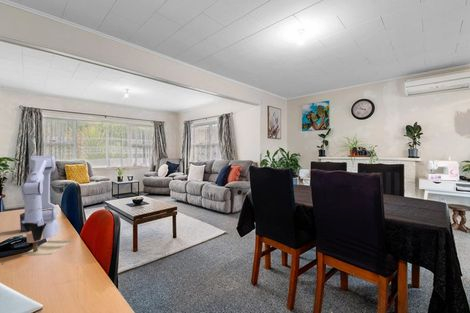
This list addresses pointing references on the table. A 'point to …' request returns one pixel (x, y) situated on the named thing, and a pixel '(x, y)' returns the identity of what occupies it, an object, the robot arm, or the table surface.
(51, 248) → the board
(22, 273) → the table surface
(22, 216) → the small box
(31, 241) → the light brown wooden block
